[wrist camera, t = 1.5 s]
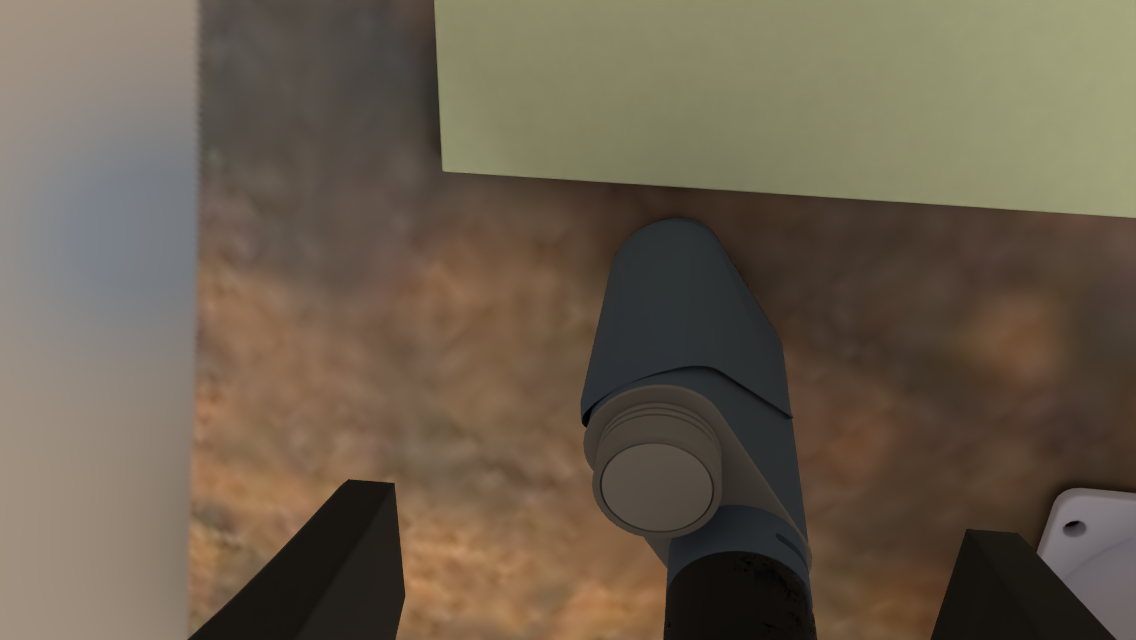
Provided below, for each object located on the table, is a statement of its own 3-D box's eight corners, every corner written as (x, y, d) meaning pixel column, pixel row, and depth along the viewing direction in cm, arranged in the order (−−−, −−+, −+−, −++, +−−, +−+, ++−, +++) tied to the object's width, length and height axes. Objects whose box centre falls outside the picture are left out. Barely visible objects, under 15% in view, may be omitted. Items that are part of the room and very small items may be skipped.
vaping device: (707, 409, 23) (704, 902, 13) (595, 240, 21) (481, 652, 11) (803, 366, 22) (885, 861, 12) (693, 187, 20) (673, 579, 10)
